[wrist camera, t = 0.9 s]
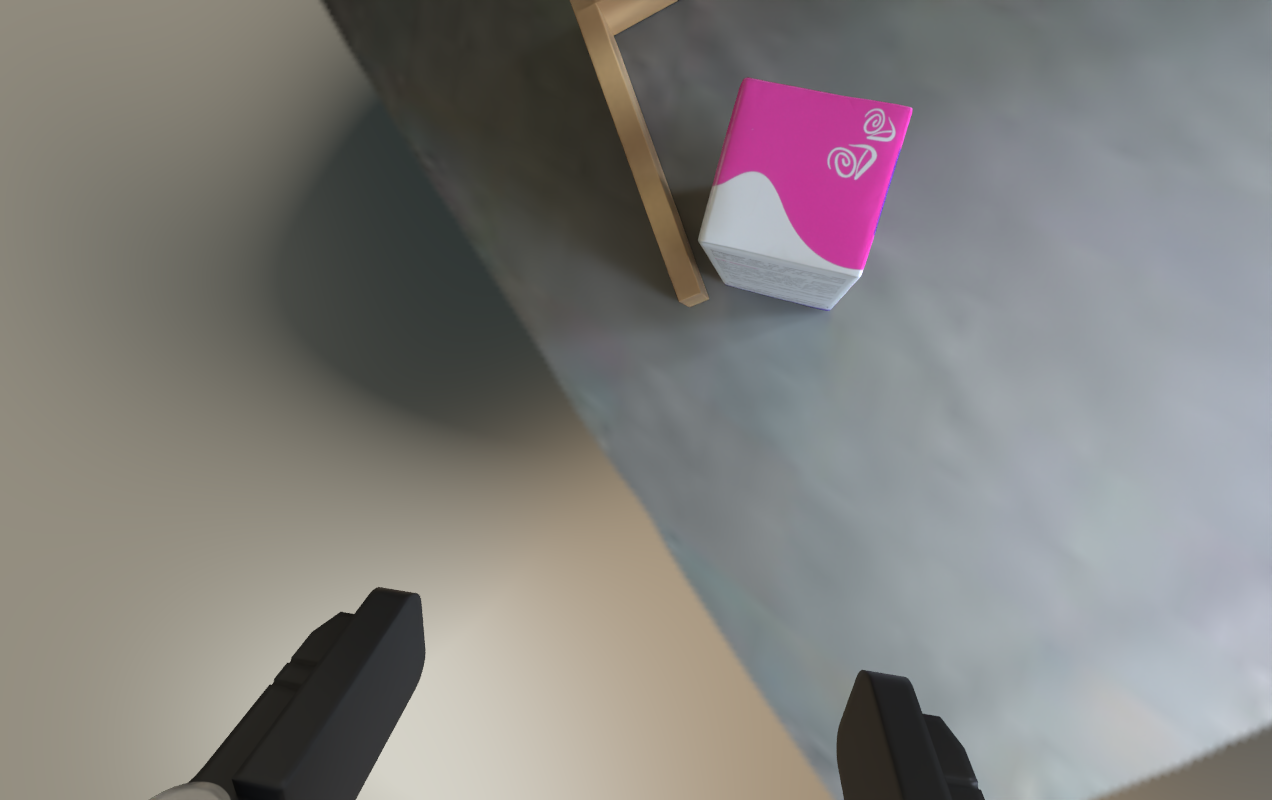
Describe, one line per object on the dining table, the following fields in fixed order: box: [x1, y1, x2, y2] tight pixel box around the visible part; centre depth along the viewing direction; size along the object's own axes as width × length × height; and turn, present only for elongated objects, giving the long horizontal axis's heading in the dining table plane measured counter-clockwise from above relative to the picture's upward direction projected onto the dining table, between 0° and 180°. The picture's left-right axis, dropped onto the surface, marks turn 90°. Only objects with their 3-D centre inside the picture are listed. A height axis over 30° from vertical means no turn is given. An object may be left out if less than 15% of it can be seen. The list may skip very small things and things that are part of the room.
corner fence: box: [570, 0, 709, 307], centre depth 29 cm, size 16×11×3 cm, turn 20°
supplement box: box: [698, 77, 912, 311], centre depth 25 cm, size 6×6×12 cm
